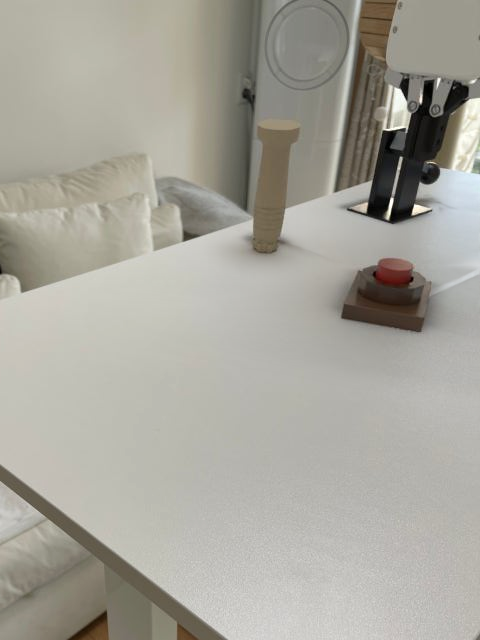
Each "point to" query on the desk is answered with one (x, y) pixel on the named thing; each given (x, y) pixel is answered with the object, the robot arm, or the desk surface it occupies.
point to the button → (394, 271)
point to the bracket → (383, 185)
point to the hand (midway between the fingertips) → (419, 158)
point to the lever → (430, 168)
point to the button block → (387, 301)
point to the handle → (272, 181)
